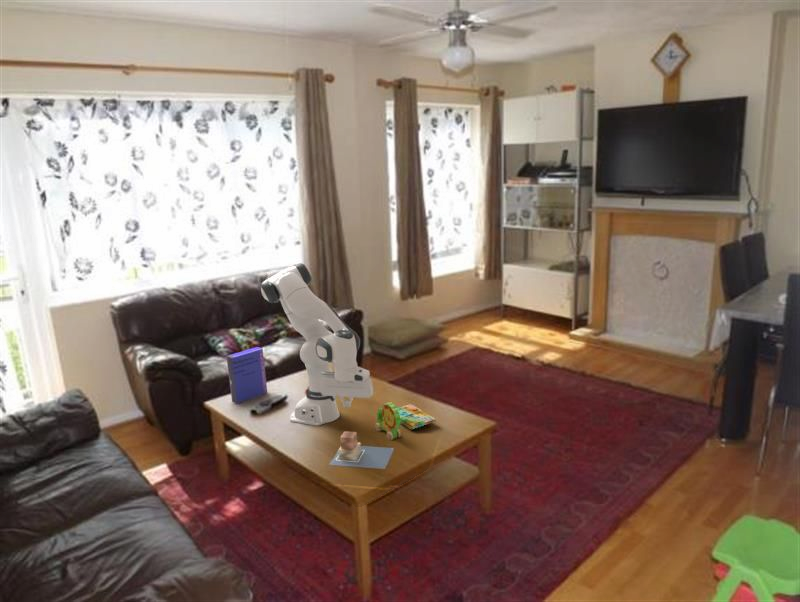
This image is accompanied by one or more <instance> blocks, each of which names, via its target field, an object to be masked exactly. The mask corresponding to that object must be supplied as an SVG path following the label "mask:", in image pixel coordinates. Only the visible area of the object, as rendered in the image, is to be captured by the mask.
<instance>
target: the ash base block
mask: <svg viewBox="0 0 800 602" xmlns="http://www.w3.org/2000/svg"><path fill="white" fill-rule="evenodd" d="M361 446H362V443H361V442H360V441H359V442H358V441H357V445H356V447H355V448H354V450H348V449H341V445H340V447H339V448H338V449H337V452H338V453H339V459H342V460H357V458H358V457H359V455H360V453H361Z"/></svg>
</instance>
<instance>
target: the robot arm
mask: <svg viewBox="0 0 800 602" xmlns="http://www.w3.org/2000/svg"><path fill="white" fill-rule="evenodd" d="M312 279H313V278H312V272H311V270H310V269H309V267H308V266H306V265H305V264H304V263H302V262H298V263H295V264H293V266H289V267H287V268H283V269H282V270H281V271H279V272H278V273H276V274H274V275H272V276H271V277H269V278H268V279H267V278H266V279H265V280H264V281H263V282H262V283H261V284H260V291H261V296H262V297H263V298H264V300H266V301H268V303H270V304H275V303H279V302H280V304H281V307H282V308H283V311H284V313H285V314H286V317H287V319H288V320H289V322H290V324H291V325H292V326H291V327H292V328H293V329H294V331H295V332H298V333H299V334H300V335H301V336H302V337H303V338H304V339H305V342H304V343H303V344H302V346H301V348H300V350H299V357H300V360H301V362H303V364H304V365H305V368H306V372H307V376H308V377H307V379H308V386H307V388H306V389H305V391H304V395H305V396H304V397H303V398H301V399H300V400H299V401H297V403H296V405H295V408H294V411H293V412H292V413H291V414H290V416H289V421H290V422H292V423H296V424H297V423H299V424H304V425H305V424H306V425H311V426H317V427H318V426H321V425H324V424H329V423H331V422H333V421H334V422H335V420H337V419H338V418H340V415H341V414H340V412H339V409H338V405H337V402H336V401H337V400H336V397H339V401H341V403H342V407H343V408H351V407H352V402H353V400H354V398H356V399H370V398H371V397H372V396H373V394H374V386H373V385H374V384H373V380H372V378H371V377H370V374H371V373H370V370H368V369H366V368H363V367H361V366H358V362H357V354H358V352H359V349H360V346H361V338H360V336H359V335H358V333H357V332H356V331H354V330H353V329H352V328H351V327H350V326H349V325H348V324H347V323H346V321H344V319H342V317H341V316H340V315H339V314H338V313H337V311H336V310H335V309H334V308H333V307H332V306H331V305H330V303H329V304H328V303H327V301H324V300H322V299H321V298H319V297H318V296H317V295H316V294H315V293H313V292H312V290H311V288H309V286H310V284H311V282H312ZM321 321H323V322H324V323H326V324H327V326H328V327H330V329H331V330H332V331H333V332H332V331H331V330H328V329H327V328H326V326H324V325H323V324H322V323H321ZM329 362H333V369H332V368H331V366H330V363H329ZM345 398H348V399H349V400H347V401H346V399H345Z"/></svg>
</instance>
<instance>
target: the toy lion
mask: <svg viewBox="0 0 800 602" xmlns="http://www.w3.org/2000/svg"><path fill="white" fill-rule="evenodd" d="M397 408H398V407H396V405H395V404H393V402H387V403H386V402H385V403H384V404H383V406H382V407H381V408H379V409H378V410H377V412H376V423H375V424H374V429H375V431H378V432H381V431H385V432H386V438H387V440H389V441H393V440H394V439H396V438H397V437H398V438H401V436H402V432H401V430H400V429H399V427H400V425H401V423H400V415H399V412H398V410H397Z"/></svg>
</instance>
